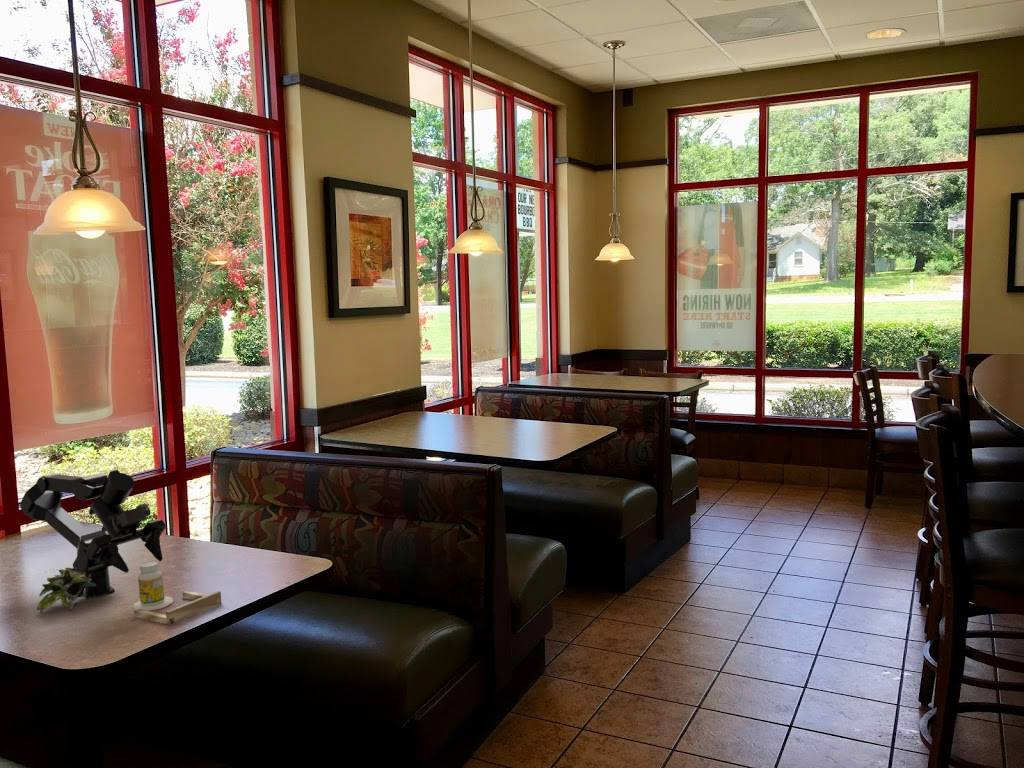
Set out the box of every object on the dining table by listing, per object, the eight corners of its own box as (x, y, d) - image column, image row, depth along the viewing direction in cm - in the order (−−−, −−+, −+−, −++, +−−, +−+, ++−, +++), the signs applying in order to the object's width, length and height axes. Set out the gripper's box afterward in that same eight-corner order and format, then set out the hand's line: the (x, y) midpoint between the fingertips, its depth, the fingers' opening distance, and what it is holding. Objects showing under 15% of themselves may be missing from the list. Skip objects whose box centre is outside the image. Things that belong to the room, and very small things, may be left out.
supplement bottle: (169, 600, 199) (166, 562, 198) (150, 608, 195) (146, 568, 194) (155, 597, 202) (151, 559, 201) (135, 605, 198) (132, 566, 197)
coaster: (128, 605, 199) (127, 603, 199) (166, 595, 205) (166, 593, 205) (139, 614, 192) (139, 612, 192) (178, 604, 198) (178, 602, 198)
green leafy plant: (73, 623, 204) (98, 576, 208) (79, 627, 195) (105, 579, 200) (27, 606, 199) (54, 559, 203) (31, 610, 190) (59, 561, 195)
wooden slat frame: (134, 616, 191) (133, 604, 190) (186, 596, 203) (185, 584, 203) (169, 625, 184) (168, 612, 184) (221, 603, 197) (220, 591, 197)
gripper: (88, 504, 191) (122, 557, 187) (158, 487, 207) (191, 535, 203) (71, 533, 196) (104, 585, 192) (141, 514, 212) (172, 562, 208)
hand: (144, 565), depth 198 cm, fingers open, 9 cm apart
